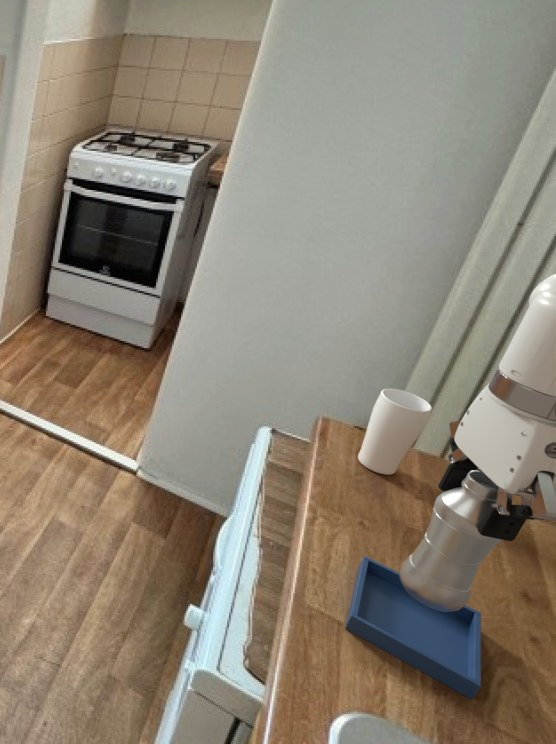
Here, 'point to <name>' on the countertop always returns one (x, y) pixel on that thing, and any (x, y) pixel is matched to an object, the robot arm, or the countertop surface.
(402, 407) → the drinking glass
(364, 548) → the countertop surface
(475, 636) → the blue tray
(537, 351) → the robot arm
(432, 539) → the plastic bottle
